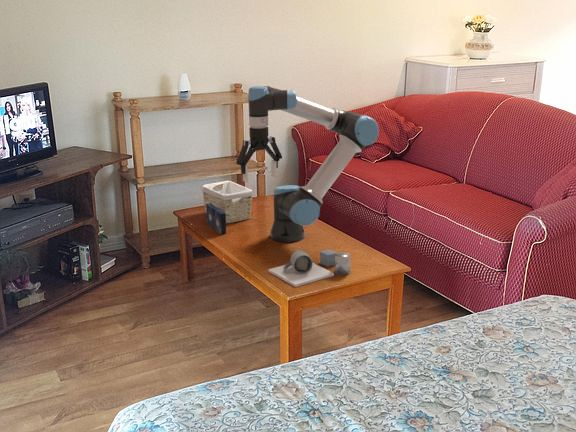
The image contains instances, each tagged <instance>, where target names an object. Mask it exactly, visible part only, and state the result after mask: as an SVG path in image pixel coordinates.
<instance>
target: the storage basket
mask: <svg viewBox="0 0 576 432" xmlns="http://www.w3.org/2000/svg"><path fill="white" fill-rule="evenodd" d="M216 189H220V190H217V191H216ZM201 191H202V194H203V202H204V204H203V206H204V212H205V214H206V215H207V213H206V204H207V203H211V204H213V205H214V206H216V207H217V208H219V209H220V210H221V211H223V212H224V213H226V224H231V223H235V222H236V223H237V222H241V221H246V220H249V219H251V214H252V201H253V196H254V195H253V190H252V189H250V188H248V187H246V186H244V185H241V184H238V183H237V182H233V181H231V180H225V181H217V182H211V183H207V184H203V185H202V187H201Z"/></svg>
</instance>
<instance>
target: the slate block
mask: <svg viewBox="0 0 576 432" xmlns="http://www.w3.org/2000/svg"><path fill="white" fill-rule="evenodd" d="M336 253H338V251H335V250H332V249H330V248H329V249H325V250H321V251H319V264H320V265H323V266H325V267H326V268H328V267H333V266H335V254H336Z"/></svg>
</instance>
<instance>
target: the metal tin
mask: <svg viewBox="0 0 576 432" xmlns="http://www.w3.org/2000/svg"><path fill="white" fill-rule="evenodd" d="M351 258H352V256H351V253H348V252H337V253H336V254H335V265H334V274H336V275H338V276H347V275H350V274H351V262H352V261H351Z"/></svg>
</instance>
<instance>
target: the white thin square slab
mask: <svg viewBox="0 0 576 432" xmlns="http://www.w3.org/2000/svg"><path fill="white" fill-rule="evenodd" d="M285 265H286V264H283V265H280V266H276V267H272V268H269V269H268V273H270V274H272V275H273V276H276V277H277V278H278V279H280V280H283V281H284V282H286V283H288V284H289V285H291V286H293V287H294V288H297V287H301V286H303V285H307V284H311V283H314V282H318V281H321V280H324V279H328V278H331V277H334V276H335V272H332V271H330V270H328V269H326V268H324V267H322V266H320V265H318V264H316V263H314V262H313V266H312V269H311V270H310V271H309V272H308V273H306V274H299V273H297V272H296V271H295V270H294V271H292V272H289V273H286V272H285V271H284V269H283V267H284V266H285ZM291 267H293V266H292V265H291V266H290V267H288V268H287V269H289V268H291Z"/></svg>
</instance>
